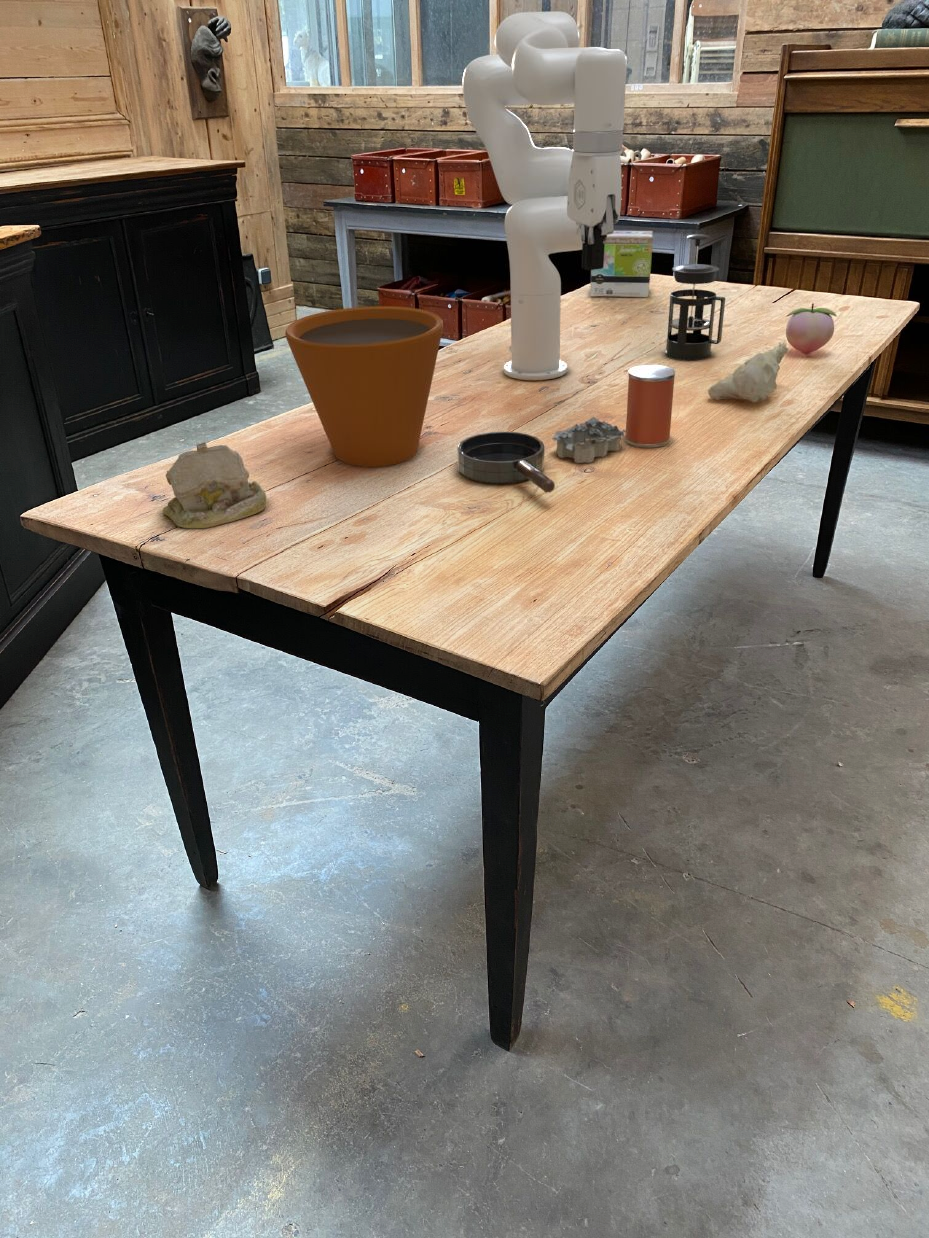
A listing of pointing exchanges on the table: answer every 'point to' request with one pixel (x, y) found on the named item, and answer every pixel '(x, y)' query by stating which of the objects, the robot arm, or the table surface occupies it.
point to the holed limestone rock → (751, 377)
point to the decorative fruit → (809, 328)
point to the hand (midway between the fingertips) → (592, 268)
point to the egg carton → (588, 440)
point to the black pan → (499, 456)
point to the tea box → (624, 265)
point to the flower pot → (368, 377)
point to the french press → (692, 343)
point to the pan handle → (535, 476)
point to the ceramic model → (211, 488)
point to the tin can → (649, 406)
